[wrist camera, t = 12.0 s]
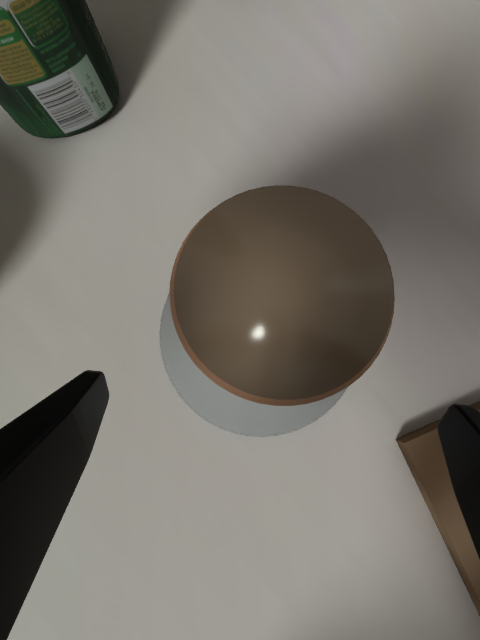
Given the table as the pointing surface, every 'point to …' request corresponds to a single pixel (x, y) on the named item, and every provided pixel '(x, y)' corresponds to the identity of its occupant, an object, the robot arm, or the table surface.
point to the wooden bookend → (442, 500)
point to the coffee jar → (54, 67)
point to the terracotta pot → (282, 295)
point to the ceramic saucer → (229, 394)
